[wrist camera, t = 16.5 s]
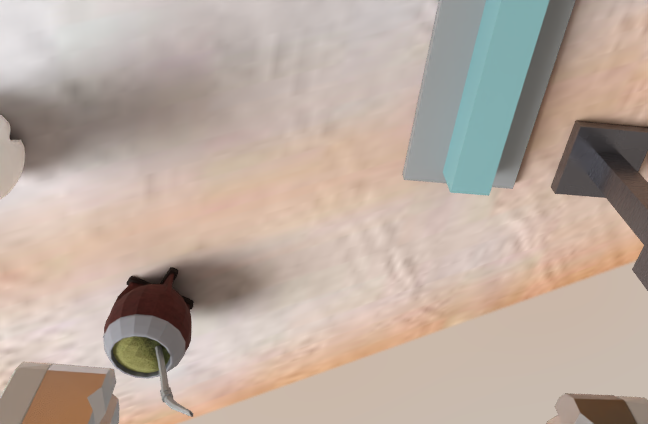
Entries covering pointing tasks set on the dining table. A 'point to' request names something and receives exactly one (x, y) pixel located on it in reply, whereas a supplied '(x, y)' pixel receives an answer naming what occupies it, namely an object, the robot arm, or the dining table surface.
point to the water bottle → (9, 159)
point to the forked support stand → (609, 175)
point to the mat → (449, 80)
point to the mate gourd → (149, 332)
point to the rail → (492, 92)
